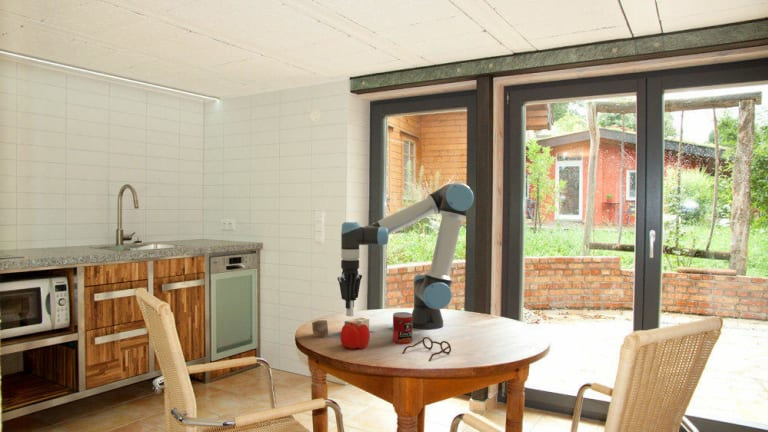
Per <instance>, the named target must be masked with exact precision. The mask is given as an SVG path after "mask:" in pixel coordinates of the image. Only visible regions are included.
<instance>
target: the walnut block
mask: <svg viewBox="0 0 768 432" xmlns="http://www.w3.org/2000/svg"><path fill="white" fill-rule="evenodd" d="M311 325H312V336H313V338H315V337H316V338H325V337H327V335H329V330H328V329H329V327H328V320H323V319H320V320H315V321H313V322H311Z"/></svg>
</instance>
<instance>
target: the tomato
mask: <svg viewBox="0 0 768 432" xmlns="http://www.w3.org/2000/svg"><path fill="white" fill-rule="evenodd" d="M369 331H370V328H369V329H368V327H367V326H366V325H365V324H362V325H360V326H358V324H356V323H352V322H350V324H345V325H343V326H342V328H341V330H340V332H341V335H340V339H339V340H340V343H341V345H342V346H343V347H345V348H347V349H350V350H354V349H359V350H362V349H366V348H367V346H368V344H369V342H370V338H371V337H370V336H371V333H369Z"/></svg>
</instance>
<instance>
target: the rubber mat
mask: <svg viewBox="0 0 768 432" xmlns="http://www.w3.org/2000/svg"><path fill="white" fill-rule="evenodd" d="M369 333H370V334H373V333H375V331H374V330H369ZM340 335H341V331H339V332H334V333H330V334H328V335H327V336H326V337H328V338H333V339H337V340H340Z"/></svg>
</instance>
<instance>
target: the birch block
mask: <svg viewBox="0 0 768 432" xmlns="http://www.w3.org/2000/svg"><path fill="white" fill-rule="evenodd" d="M350 322H352V323H356V324H358V326H360V325H362V324H365V325H366V326H367V327H368V329H369V330H370V318H365V317H357V318H352V319H349V320H348V319H347V320H344V325H345V324H350ZM344 325H343V326H344Z"/></svg>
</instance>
